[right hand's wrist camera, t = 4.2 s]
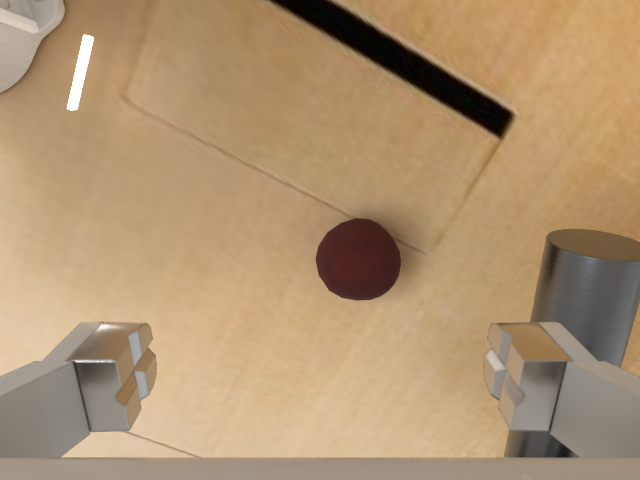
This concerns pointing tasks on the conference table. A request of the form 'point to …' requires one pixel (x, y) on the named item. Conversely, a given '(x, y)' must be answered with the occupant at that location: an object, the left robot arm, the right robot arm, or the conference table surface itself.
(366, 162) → the conference table surface
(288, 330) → the conference table surface
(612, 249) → the rod
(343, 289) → the dark red ball
